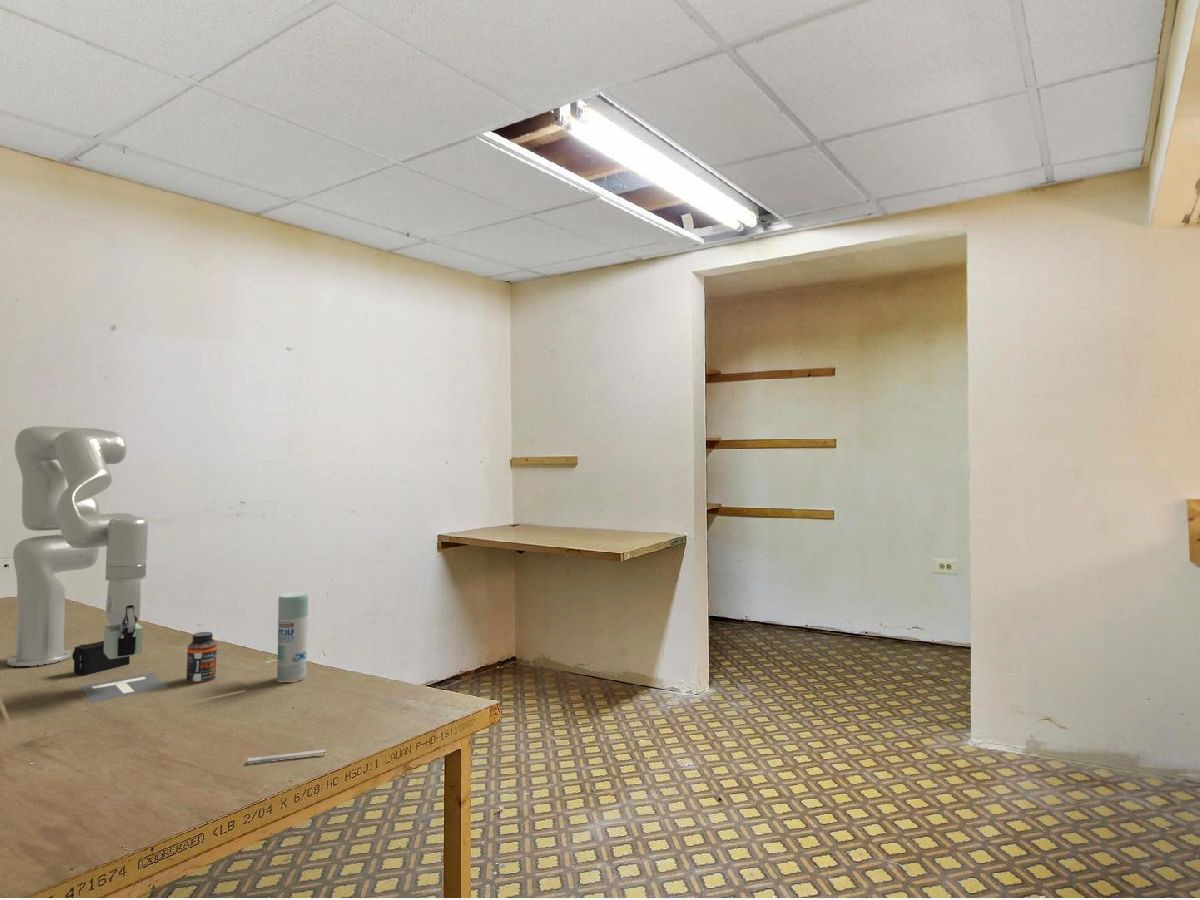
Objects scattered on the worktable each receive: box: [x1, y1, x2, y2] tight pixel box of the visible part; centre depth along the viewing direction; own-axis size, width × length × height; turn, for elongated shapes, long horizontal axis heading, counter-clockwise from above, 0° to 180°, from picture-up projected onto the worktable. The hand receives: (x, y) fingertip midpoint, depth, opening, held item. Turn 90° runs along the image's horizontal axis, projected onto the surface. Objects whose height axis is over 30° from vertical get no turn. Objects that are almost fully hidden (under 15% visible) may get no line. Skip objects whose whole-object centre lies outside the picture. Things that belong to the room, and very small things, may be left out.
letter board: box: [78, 672, 169, 703], centre depth 153 cm, size 14×14×1 cm
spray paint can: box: [276, 591, 309, 681], centre depth 162 cm, size 6×6×20 cm
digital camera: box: [71, 640, 131, 677], centre depth 166 cm, size 10×5×7 cm, turn 156°
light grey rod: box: [246, 749, 326, 765], centre depth 120 cm, size 12×1×1 cm, turn 109°
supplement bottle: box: [186, 631, 218, 684], centre depth 159 cm, size 6×6×11 cm
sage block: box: [103, 622, 144, 659], centre depth 154 cm, size 6×6×6 cm
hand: (122, 650), depth 154 cm, fingers closed on sage block, 6 cm apart
